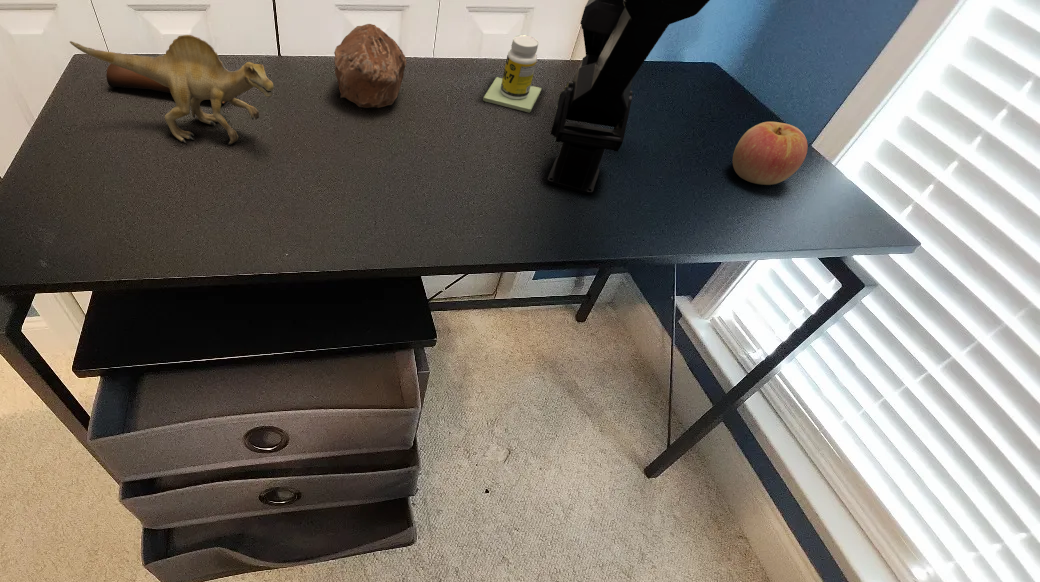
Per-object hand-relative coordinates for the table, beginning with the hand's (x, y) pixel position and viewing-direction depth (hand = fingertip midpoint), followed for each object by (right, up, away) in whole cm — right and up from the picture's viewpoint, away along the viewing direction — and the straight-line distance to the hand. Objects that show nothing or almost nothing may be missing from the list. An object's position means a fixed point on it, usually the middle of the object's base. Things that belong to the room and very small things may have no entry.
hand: (597, 61), depth 83 cm
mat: (-9, +3, +17) cm, 19 cm away
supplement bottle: (-8, +3, +17) cm, 19 cm away
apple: (+25, -14, +6) cm, 30 cm away
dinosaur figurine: (-57, -8, +4) cm, 58 cm away
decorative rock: (-33, +1, +14) cm, 35 cm away
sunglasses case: (-63, +2, +11) cm, 64 cm away
